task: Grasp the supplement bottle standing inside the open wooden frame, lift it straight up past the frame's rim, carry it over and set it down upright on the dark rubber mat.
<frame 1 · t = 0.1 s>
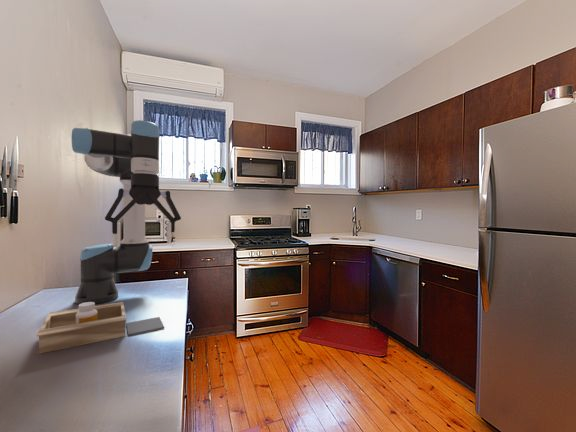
hand: (144, 244, 82), 28 cm above the countertop, fingers open, 13 cm apart
wooden frame: (86, 335, 82), on the countertop
supplement bottle: (86, 336, 82), resting in wooden frame
mat: (145, 326, 89), on the countertop
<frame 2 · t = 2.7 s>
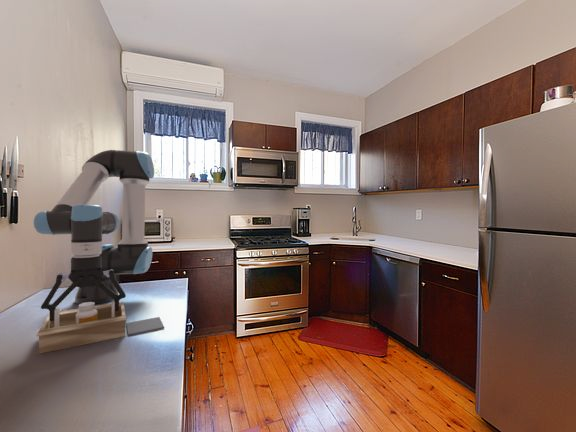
hand: (86, 326, 82), 3 cm above the countertop, fingers open, 13 cm apart
nothing on the countertop moved.
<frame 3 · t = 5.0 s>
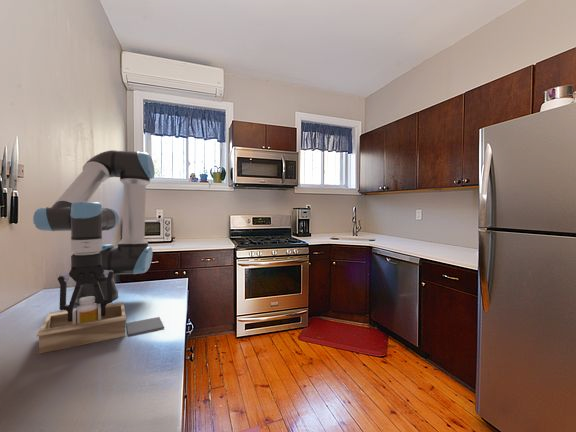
hand: (87, 328, 83), 2 cm above the countertop, fingers closed on supplement bottle, 5 cm apart
supplement bottle: (87, 330, 83), point 1 cm above the countertop, touching gripper
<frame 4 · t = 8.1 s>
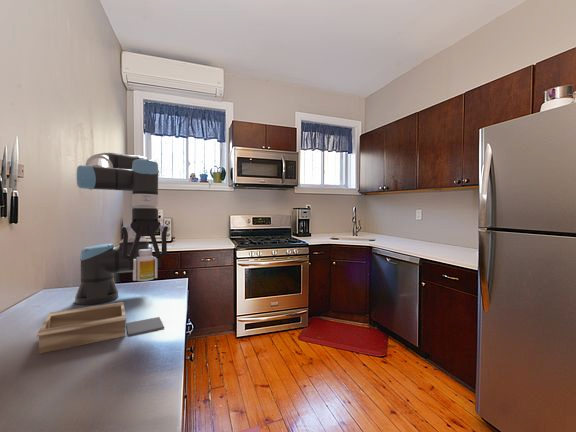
hand: (145, 278, 89), 16 cm above the countertop, fingers closed on supplement bottle, 5 cm apart
supplement bottle: (145, 279, 89), point 15 cm above the countertop, touching gripper
when the fingers open (1 cm above the countertop, at t = 11.4 s): supplement bottle stays where it is, resting on mat.
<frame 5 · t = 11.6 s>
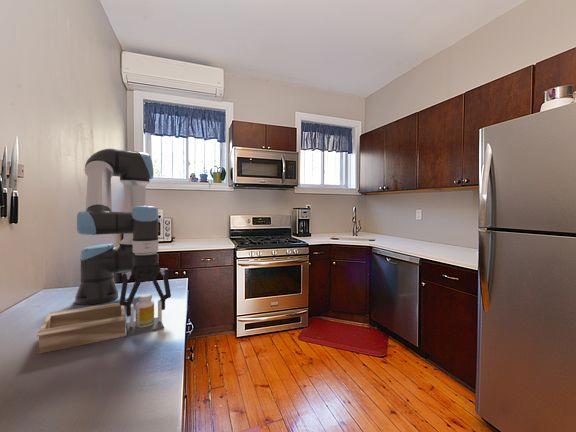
hand: (146, 322, 89), 1 cm above the countertop, fingers open, 7 cm apart
supplement bottle: (144, 325, 89), resting on mat
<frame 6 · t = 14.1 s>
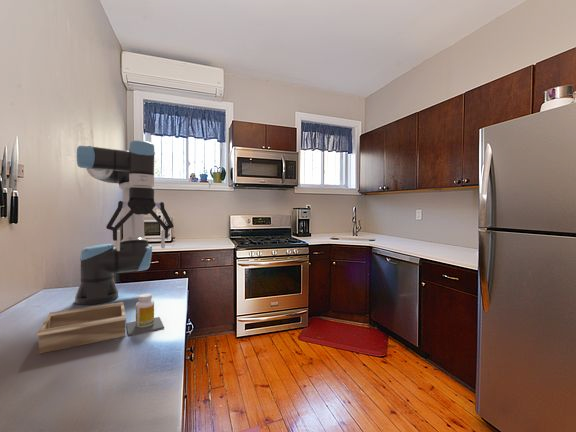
hand: (141, 249, 94), 25 cm above the countertop, fingers open, 13 cm apart
nothing on the countertop moved.
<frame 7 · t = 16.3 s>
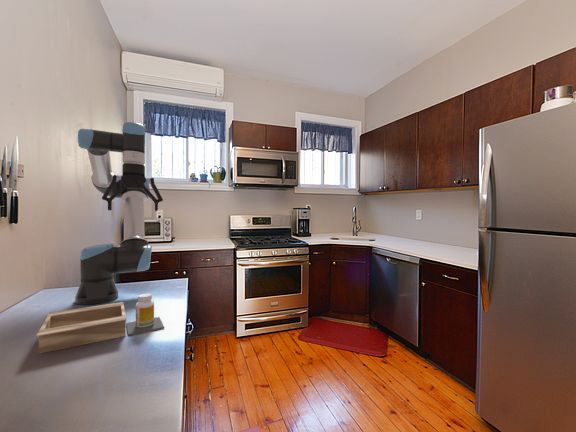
hand: (133, 219, 104), 35 cm above the countertop, fingers open, 13 cm apart
nothing on the countertop moved.
at the end: supplement bottle inside the target area on the mat (0.2 cm from its centre), point 0.4 cm above the mat's base; supplement bottle tilted 0°; the gripper is holding nothing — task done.
